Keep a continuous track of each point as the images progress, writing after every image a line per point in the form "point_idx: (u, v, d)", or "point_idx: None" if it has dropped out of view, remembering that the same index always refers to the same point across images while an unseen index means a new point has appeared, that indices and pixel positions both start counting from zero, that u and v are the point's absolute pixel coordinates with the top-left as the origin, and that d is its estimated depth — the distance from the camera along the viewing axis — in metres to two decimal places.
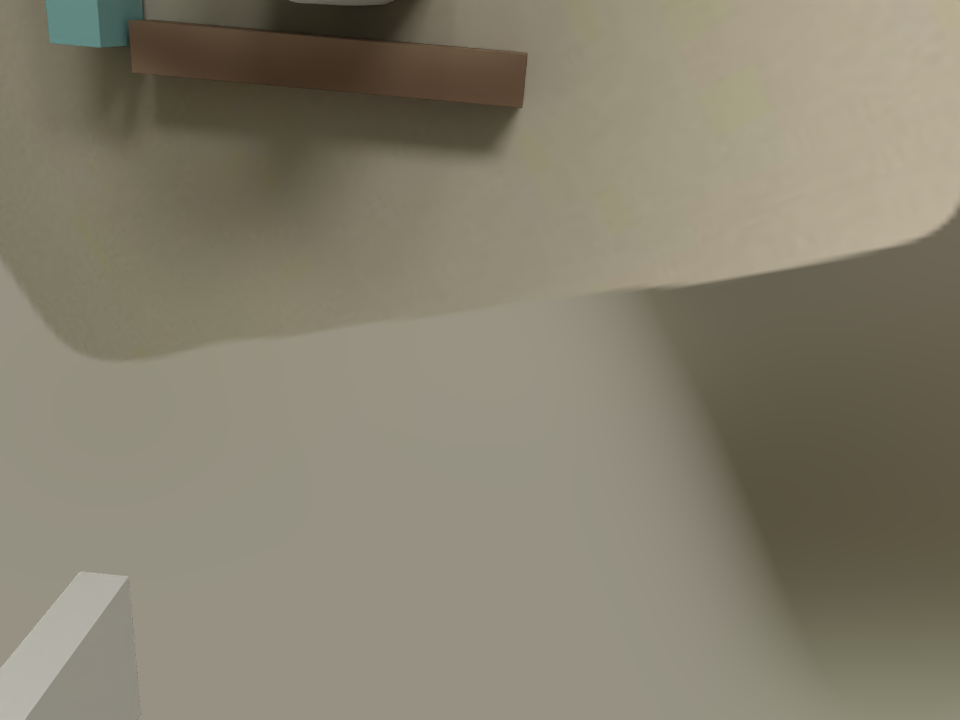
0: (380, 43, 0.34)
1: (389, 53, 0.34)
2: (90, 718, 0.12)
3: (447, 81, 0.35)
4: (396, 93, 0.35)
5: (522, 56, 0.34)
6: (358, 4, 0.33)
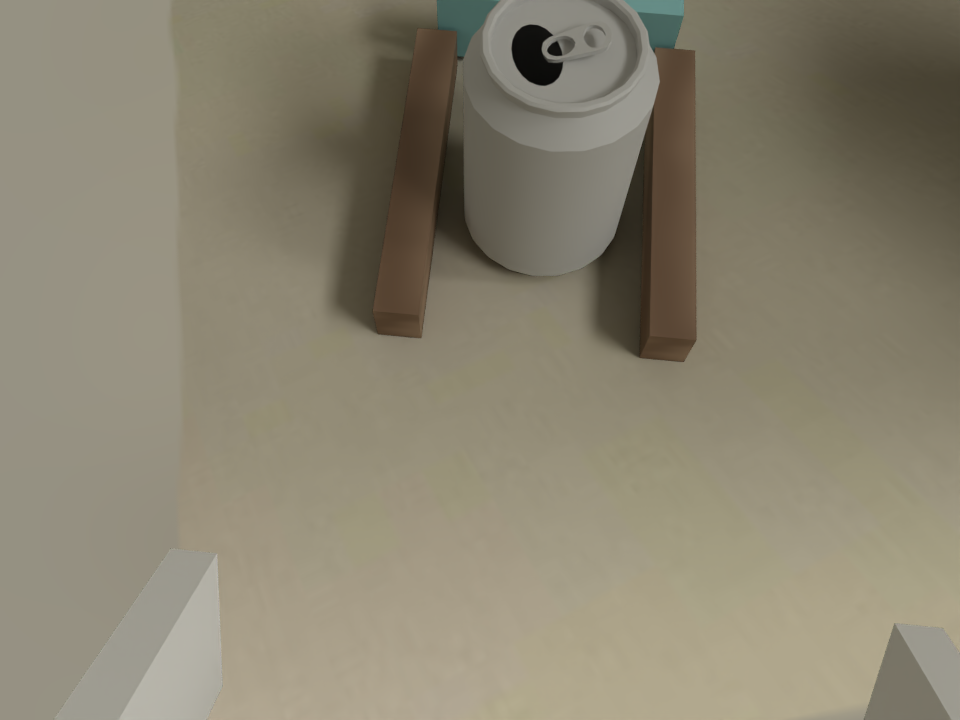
0: (433, 201, 0.40)
1: (424, 207, 0.40)
2: (186, 686, 0.13)
3: (398, 251, 0.39)
4: (391, 211, 0.39)
5: (417, 311, 0.37)
6: None
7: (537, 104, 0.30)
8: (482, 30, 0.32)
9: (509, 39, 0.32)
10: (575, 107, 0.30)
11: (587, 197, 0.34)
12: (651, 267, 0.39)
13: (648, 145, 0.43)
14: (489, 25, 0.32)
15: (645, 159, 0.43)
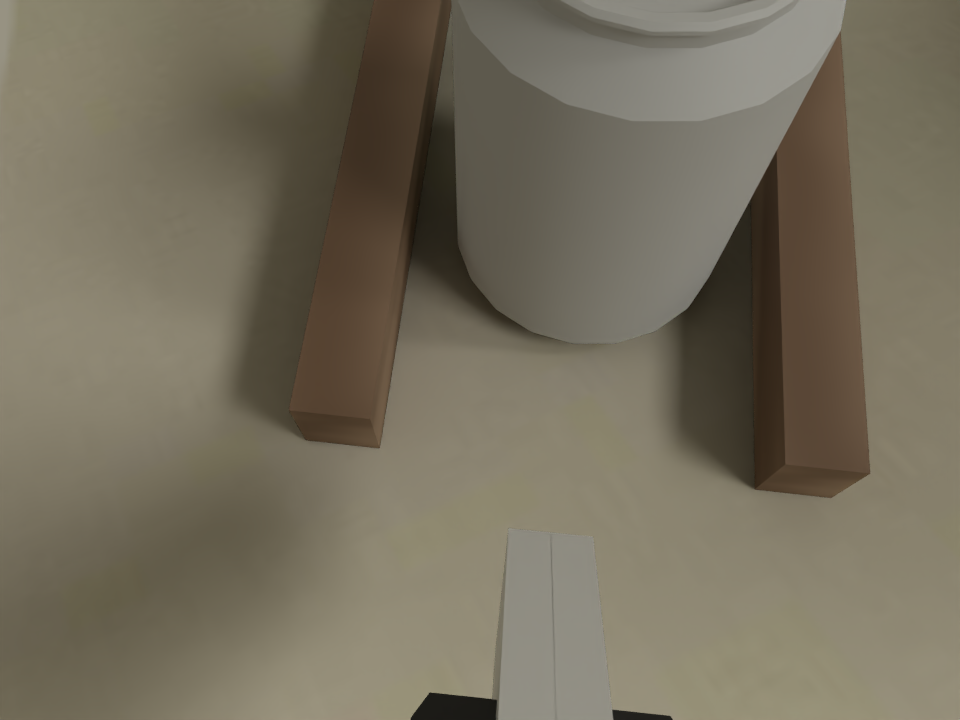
0: (403, 214, 0.23)
1: (388, 224, 0.23)
2: None
3: (340, 300, 0.22)
4: (330, 230, 0.23)
5: (368, 412, 0.21)
6: None
7: (608, 14, 0.14)
8: None
9: None
10: (693, 21, 0.14)
11: (689, 215, 0.18)
12: (782, 336, 0.22)
13: None
14: None
15: None
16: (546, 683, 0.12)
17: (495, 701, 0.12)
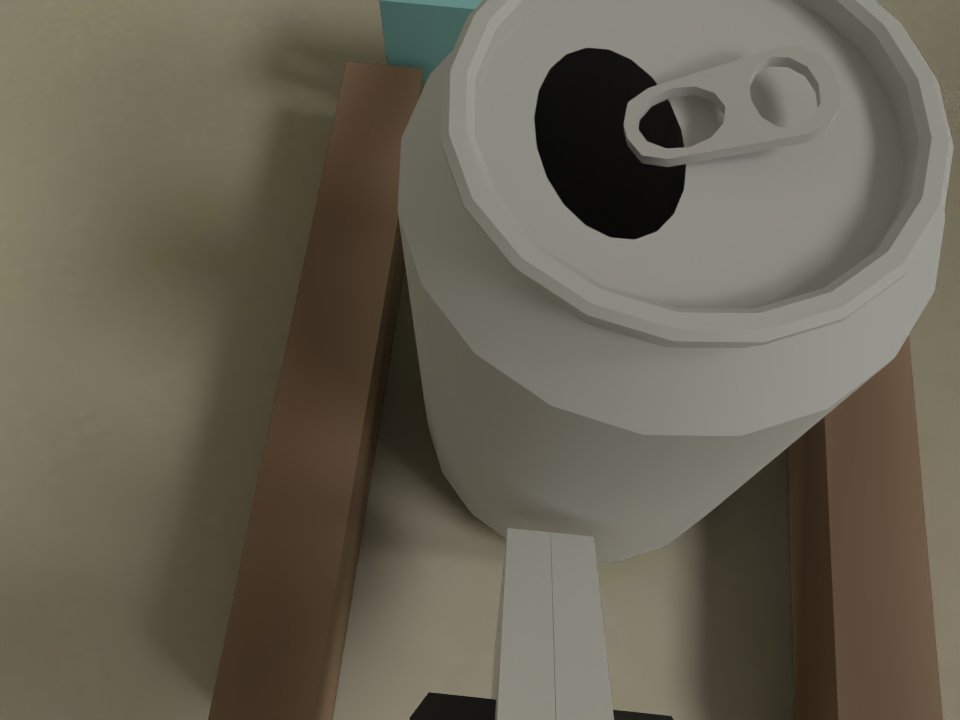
0: (358, 443, 0.19)
1: (338, 457, 0.18)
2: None
3: (277, 566, 0.18)
4: (266, 466, 0.18)
5: None
6: None
7: (612, 312, 0.09)
8: (450, 64, 0.11)
9: (530, 91, 0.11)
10: (736, 328, 0.09)
11: (715, 486, 0.14)
12: (834, 613, 0.17)
13: None
14: (472, 49, 0.11)
15: None
16: (547, 683, 0.12)
17: (494, 701, 0.12)
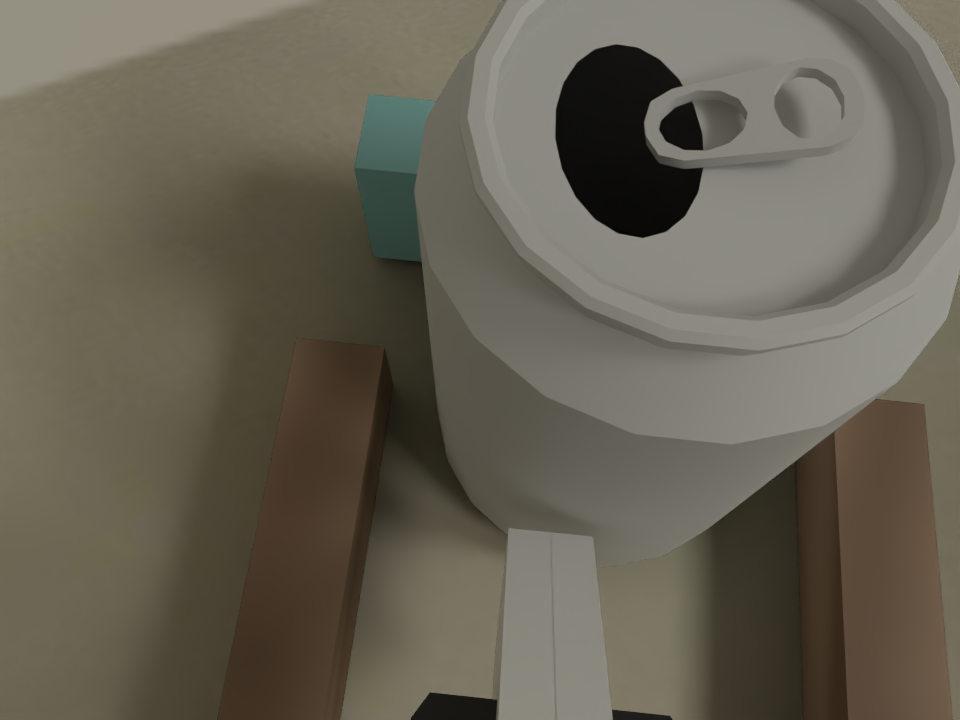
0: None
1: None
2: None
3: None
4: None
5: None
6: None
7: (610, 307, 0.09)
8: (477, 49, 0.11)
9: (555, 82, 0.11)
10: (733, 334, 0.09)
11: (711, 497, 0.13)
12: None
13: (819, 636, 0.18)
14: (500, 36, 0.11)
15: (807, 652, 0.19)
16: (546, 683, 0.12)
17: (495, 701, 0.12)
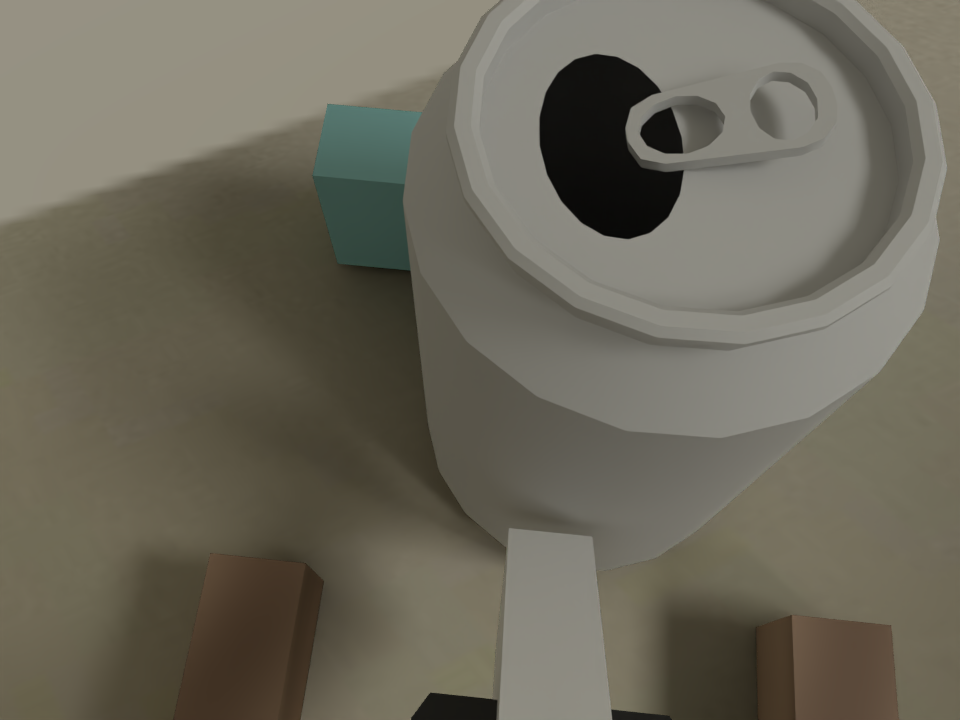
0: None
1: None
2: None
3: None
4: None
5: None
6: None
7: (599, 306, 0.10)
8: (461, 60, 0.11)
9: (537, 92, 0.11)
10: (718, 329, 0.10)
11: (701, 494, 0.14)
12: None
13: None
14: (483, 48, 0.11)
15: None
16: (545, 683, 0.12)
17: (495, 701, 0.12)
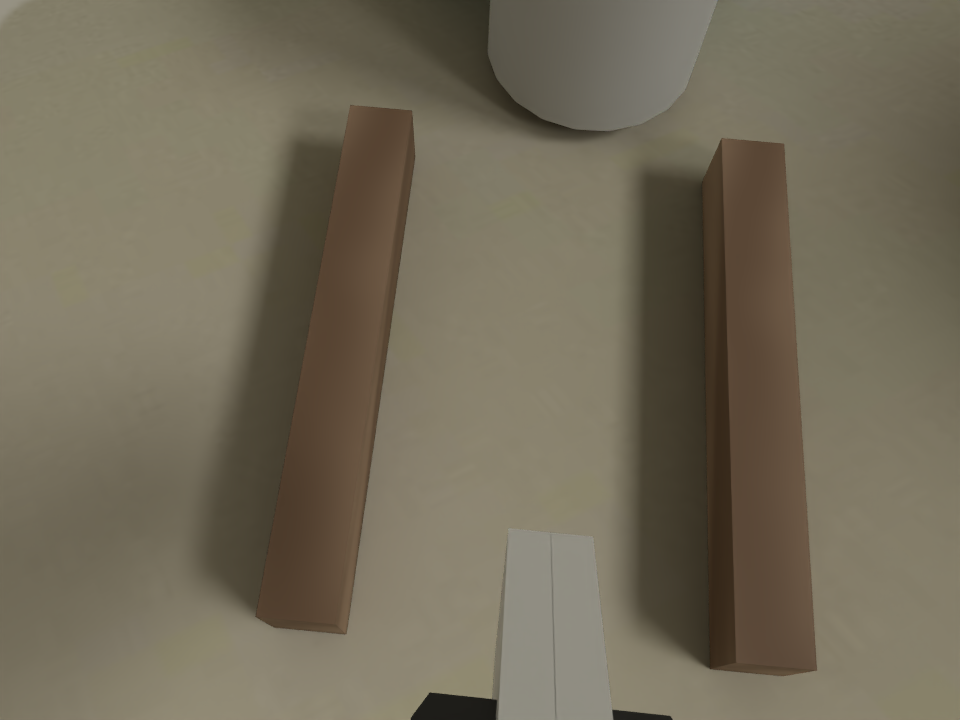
0: (366, 405, 0.24)
1: (351, 416, 0.24)
2: None
3: (306, 498, 0.23)
4: (295, 424, 0.24)
5: (334, 616, 0.22)
6: None
7: None
8: None
9: None
10: None
11: None
12: (733, 527, 0.23)
13: (713, 295, 0.27)
14: None
15: (707, 314, 0.28)
16: (546, 683, 0.12)
17: (495, 701, 0.12)
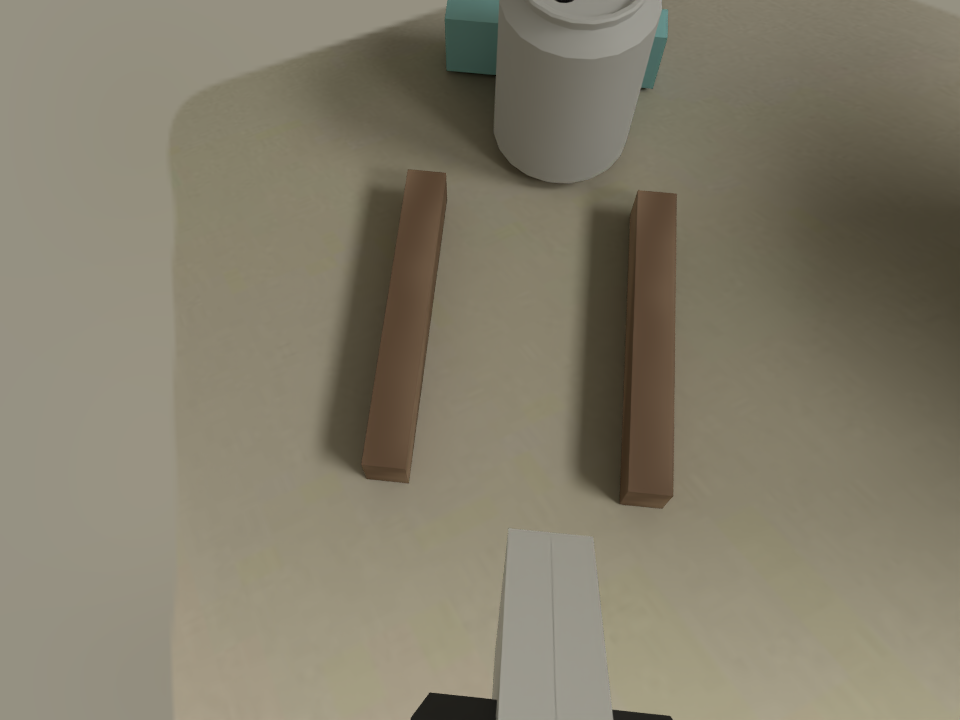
0: (420, 350, 0.41)
1: (412, 357, 0.41)
2: None
3: (387, 402, 0.40)
4: (379, 360, 0.41)
5: (404, 465, 0.39)
6: None
7: (557, 15, 0.37)
8: None
9: None
10: (588, 20, 0.37)
11: (596, 106, 0.41)
12: (631, 420, 0.40)
13: (630, 287, 0.44)
14: None
15: (628, 299, 0.45)
16: (546, 683, 0.12)
17: (495, 701, 0.12)
